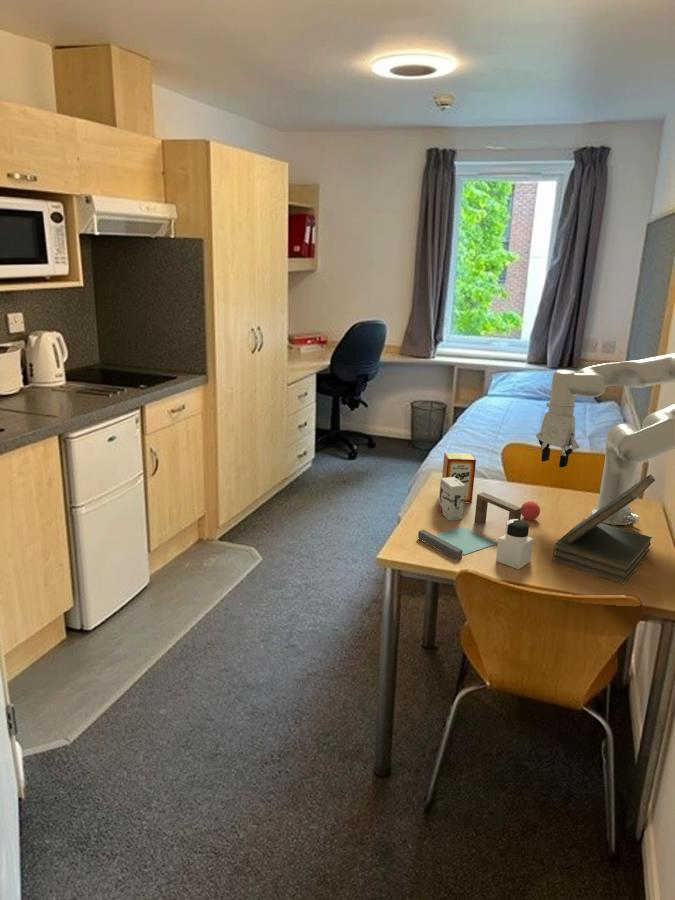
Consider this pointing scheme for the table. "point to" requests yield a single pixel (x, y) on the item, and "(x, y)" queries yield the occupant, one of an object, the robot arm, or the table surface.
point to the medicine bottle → (515, 544)
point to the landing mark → (466, 540)
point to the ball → (530, 510)
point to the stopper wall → (440, 544)
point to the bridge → (486, 498)
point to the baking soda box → (461, 471)
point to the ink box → (451, 498)
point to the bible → (605, 542)
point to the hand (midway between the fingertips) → (553, 463)
